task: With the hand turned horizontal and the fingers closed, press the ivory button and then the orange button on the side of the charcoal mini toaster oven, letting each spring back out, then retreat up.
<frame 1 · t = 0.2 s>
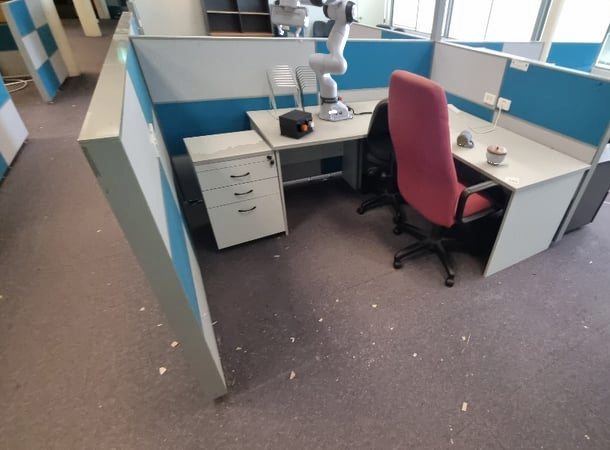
hand: (288, 35, 169), 52 cm above the table, tool tilted 20°, fingers open, 8 cm apart
toaster oven: (297, 132, 200), on the table
trinket box: (493, 162, 184), on the table
orange button: (304, 127, 192), point 6 cm above the table, slide at 0.0 cm
grey rounded lump: (464, 145, 203), on the table
ivory button: (311, 124, 197), point 6 cm above the table, slide at 0.0 cm
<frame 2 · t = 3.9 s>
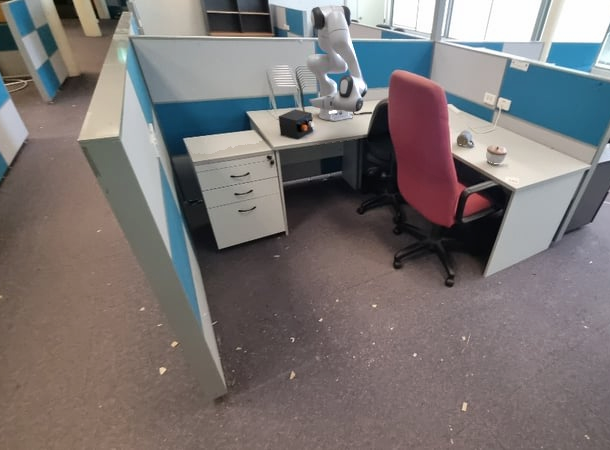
hand: (315, 99, 186), 21 cm above the table, tool horizontal, fingers open, 8 cm apart
nothing on the table moved.
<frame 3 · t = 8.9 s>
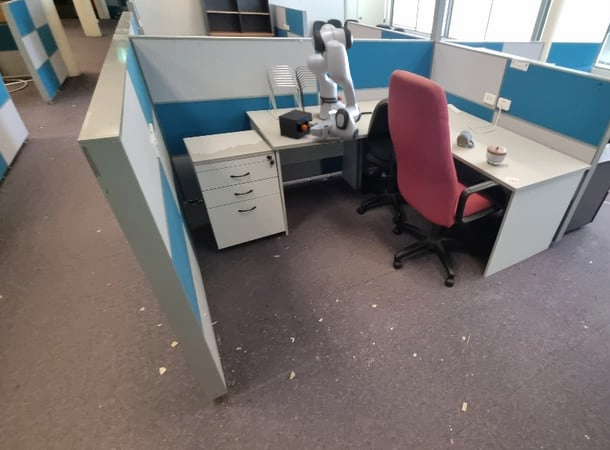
hand: (312, 124, 197), 6 cm above the table, tool horizontal, fingers closed, pressing on ivory button
ivory button: (310, 124, 197), point 6 cm above the table, slide at -0.4 cm, touching gripper
everything else where it was.
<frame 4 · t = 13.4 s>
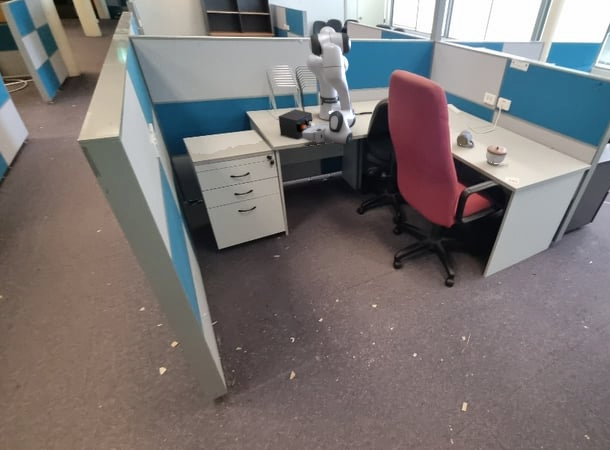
hand: (304, 127, 192), 6 cm above the table, tool horizontal, fingers closed, pressing on orange button
orange button: (303, 127, 192), point 6 cm above the table, slide at -0.7 cm, touching gripper
ivory button: (311, 124, 197), point 6 cm above the table, slide at 0.0 cm
everything else where it was.
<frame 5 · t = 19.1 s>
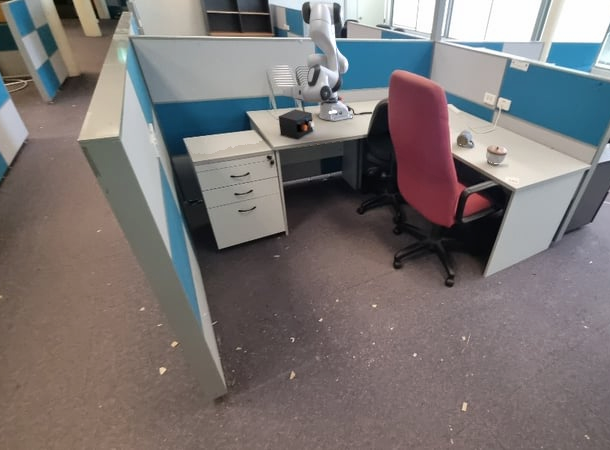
hand: (294, 94, 184), 23 cm above the table, tool horizontal, fingers closed
orange button: (304, 127, 192), point 6 cm above the table, slide at 0.0 cm
everything else where it was.
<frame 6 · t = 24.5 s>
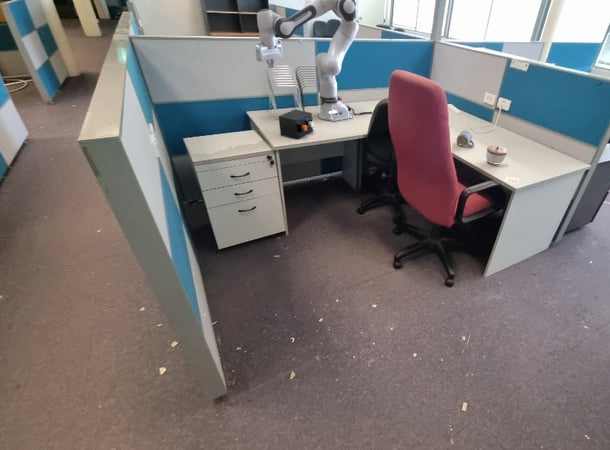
hand: (271, 67, 200), 31 cm above the table, tool pointing down, fingers closed
nothing on the table moved.
at the end: ivory button pushed in 1.1 cm at the most during the clip, back to where it started at the end; orange button pushed in 1.1 cm at the most during the clip, back to where it started at the end; orange button slide at 0.0 cm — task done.
